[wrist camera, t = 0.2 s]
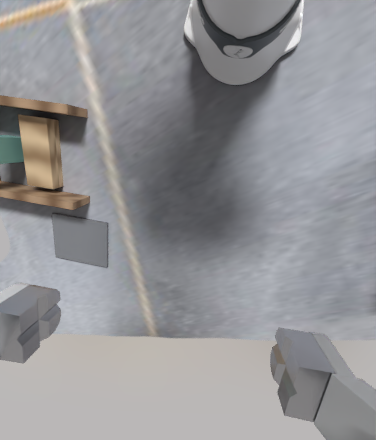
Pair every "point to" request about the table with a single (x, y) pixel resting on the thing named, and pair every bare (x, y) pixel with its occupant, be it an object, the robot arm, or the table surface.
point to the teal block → (10, 149)
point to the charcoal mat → (80, 239)
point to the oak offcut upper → (39, 151)
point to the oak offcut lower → (58, 152)
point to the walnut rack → (37, 193)
